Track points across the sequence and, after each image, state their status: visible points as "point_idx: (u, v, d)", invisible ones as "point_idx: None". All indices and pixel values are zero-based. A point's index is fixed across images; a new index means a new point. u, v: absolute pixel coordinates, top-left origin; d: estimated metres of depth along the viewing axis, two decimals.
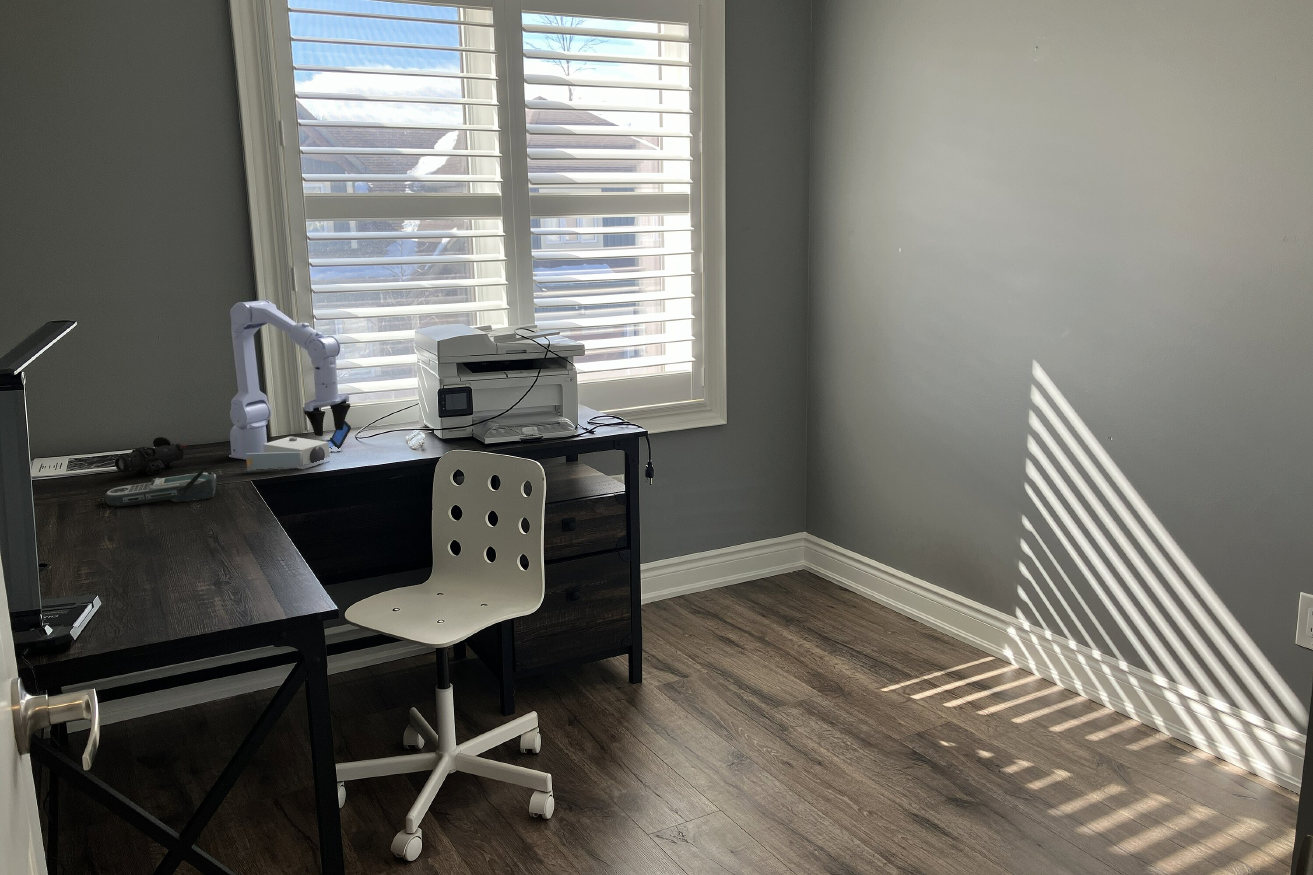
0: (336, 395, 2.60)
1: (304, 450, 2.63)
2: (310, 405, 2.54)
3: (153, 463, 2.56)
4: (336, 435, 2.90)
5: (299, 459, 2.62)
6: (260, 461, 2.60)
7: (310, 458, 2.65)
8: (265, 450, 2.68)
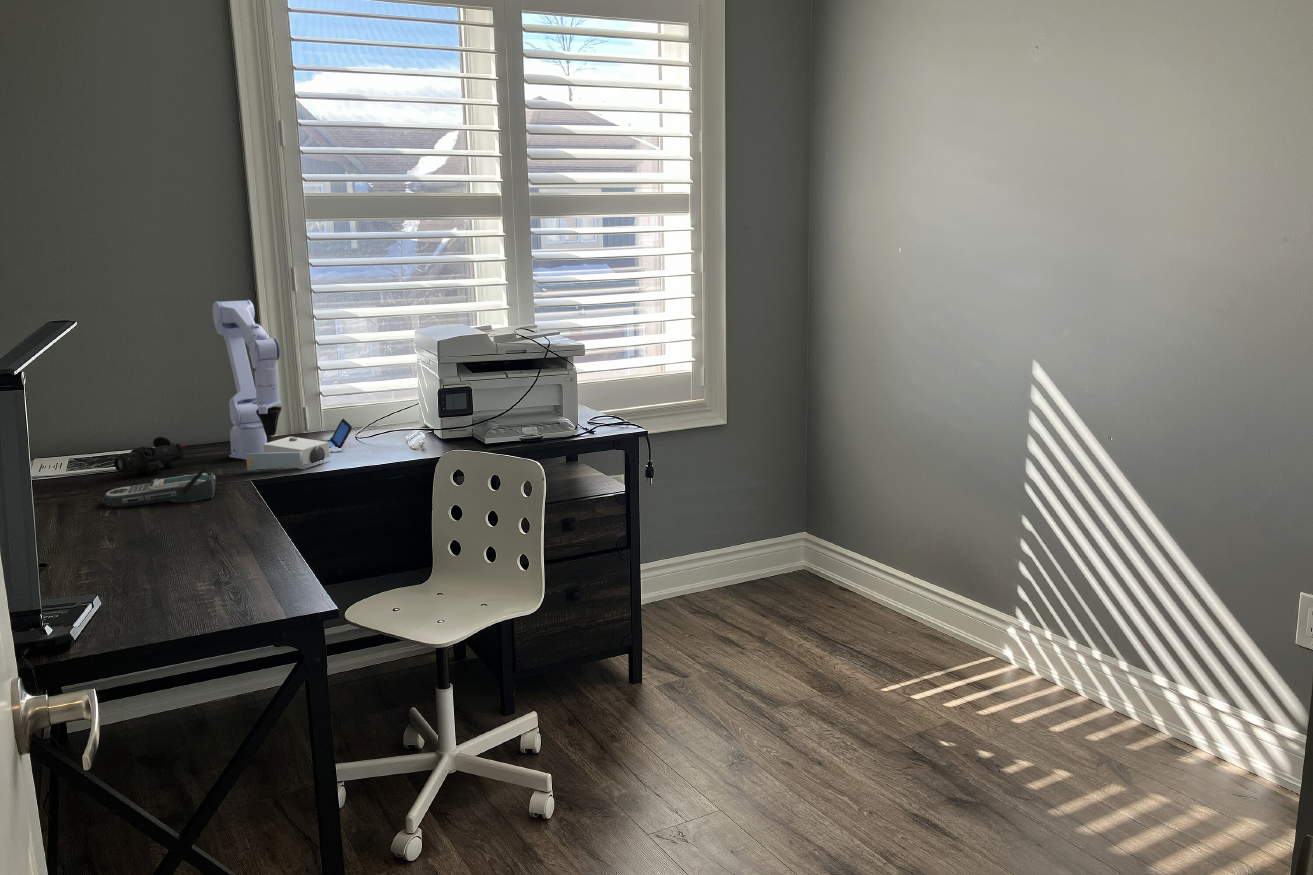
0: (256, 397, 2.59)
1: (304, 450, 2.63)
2: None
3: (152, 463, 2.56)
4: (337, 435, 2.90)
5: (299, 459, 2.62)
6: (260, 461, 2.60)
7: (310, 458, 2.65)
8: (265, 450, 2.68)
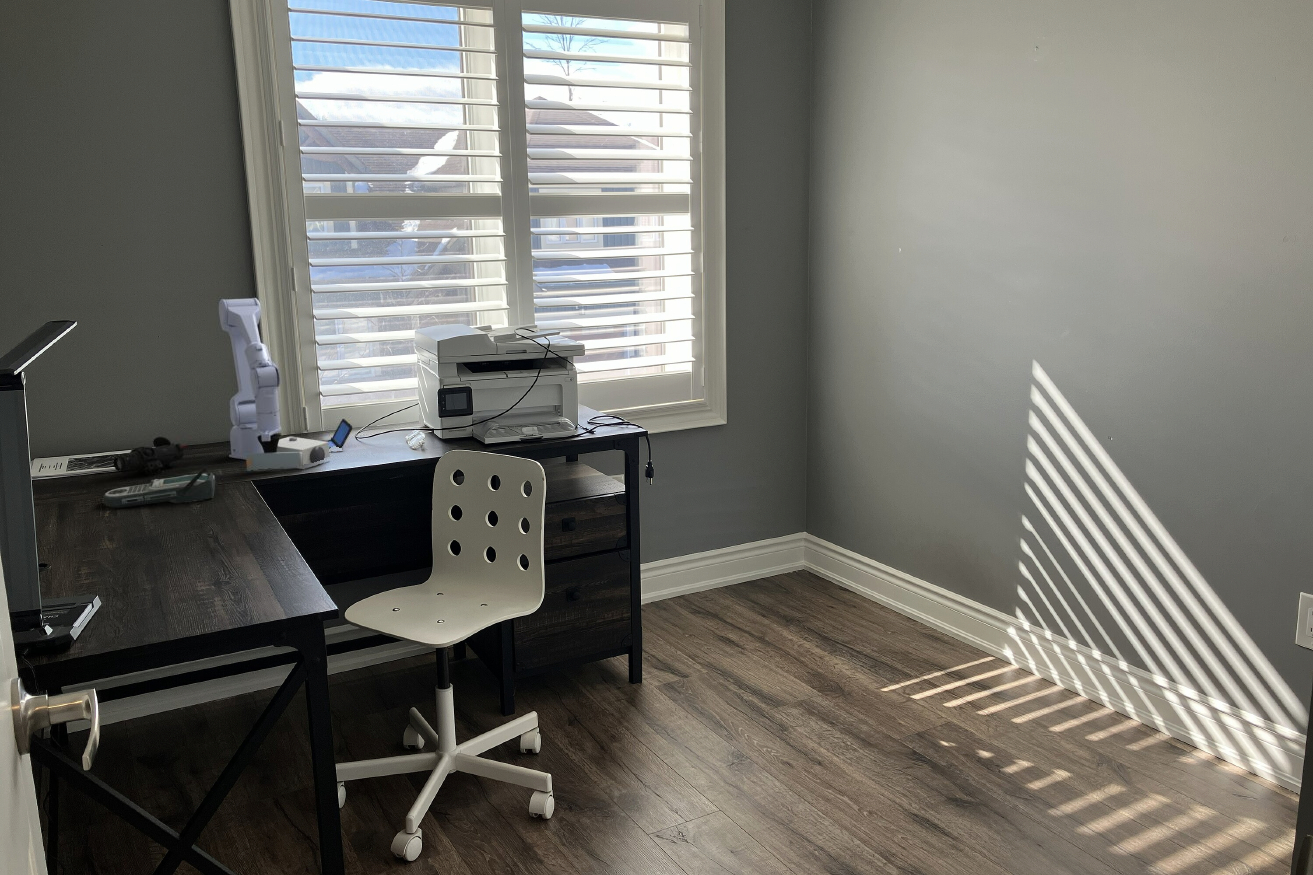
0: (257, 424, 2.59)
1: (304, 450, 2.63)
2: None
3: (152, 463, 2.56)
4: (337, 435, 2.90)
5: (299, 459, 2.62)
6: (260, 461, 2.60)
7: (310, 458, 2.65)
8: None
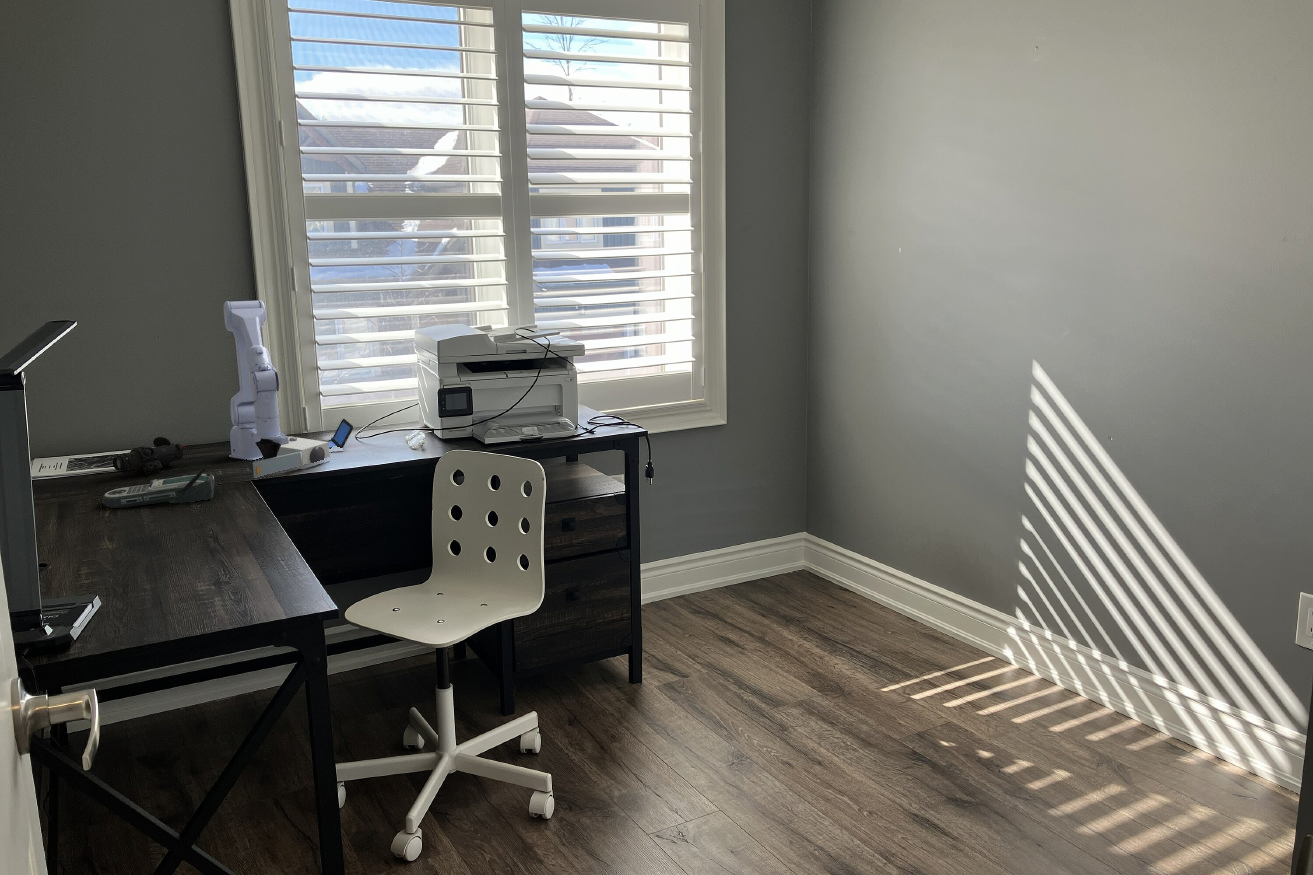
0: (259, 431, 2.52)
1: (304, 450, 2.63)
2: (249, 431, 2.58)
3: (151, 463, 2.56)
4: (337, 435, 2.90)
5: (301, 459, 2.62)
6: (267, 467, 2.54)
7: (310, 458, 2.65)
8: None
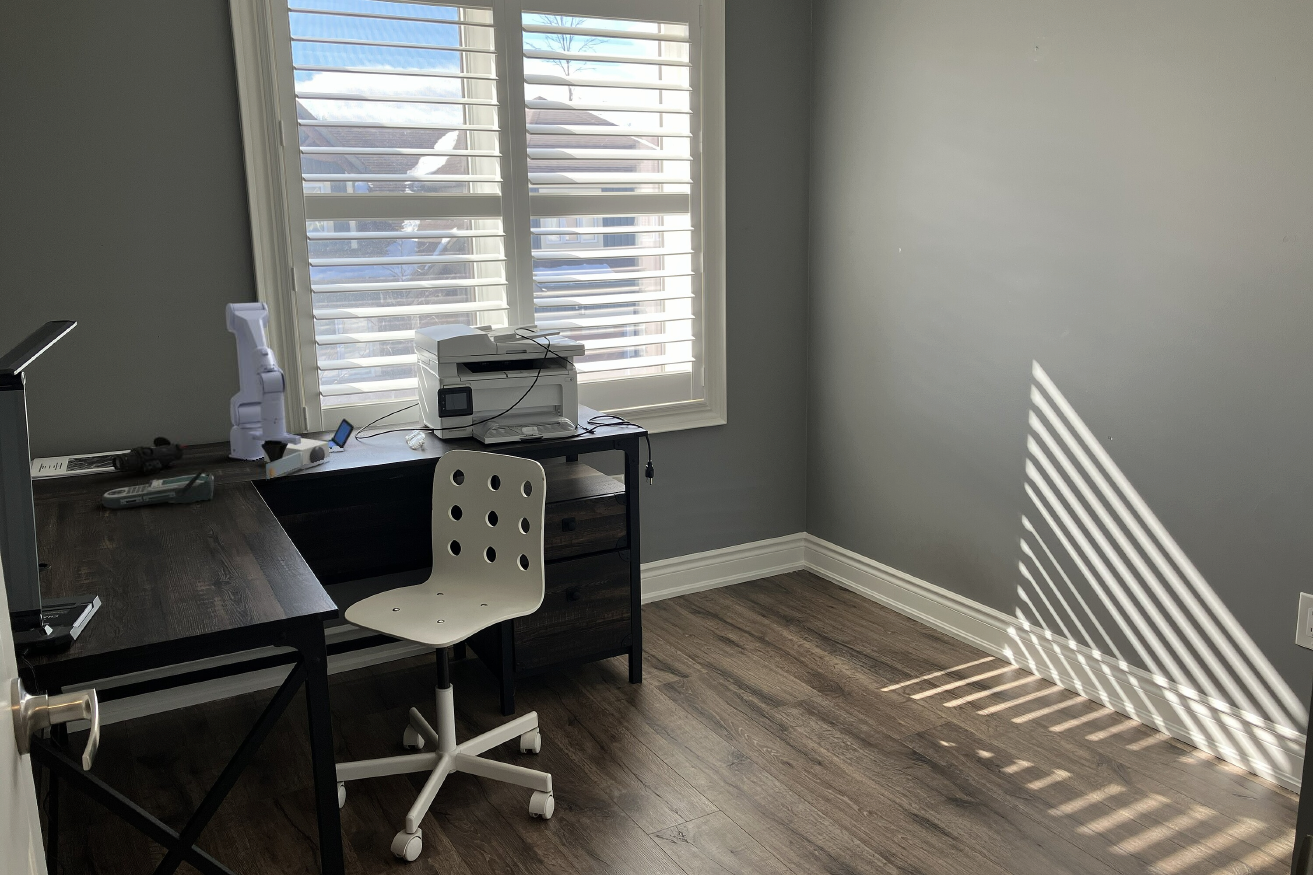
0: (269, 432, 2.50)
1: (304, 450, 2.63)
2: (248, 434, 2.54)
3: (150, 463, 2.56)
4: (338, 435, 2.90)
5: (301, 459, 2.62)
6: (277, 469, 2.53)
7: (310, 458, 2.65)
8: None
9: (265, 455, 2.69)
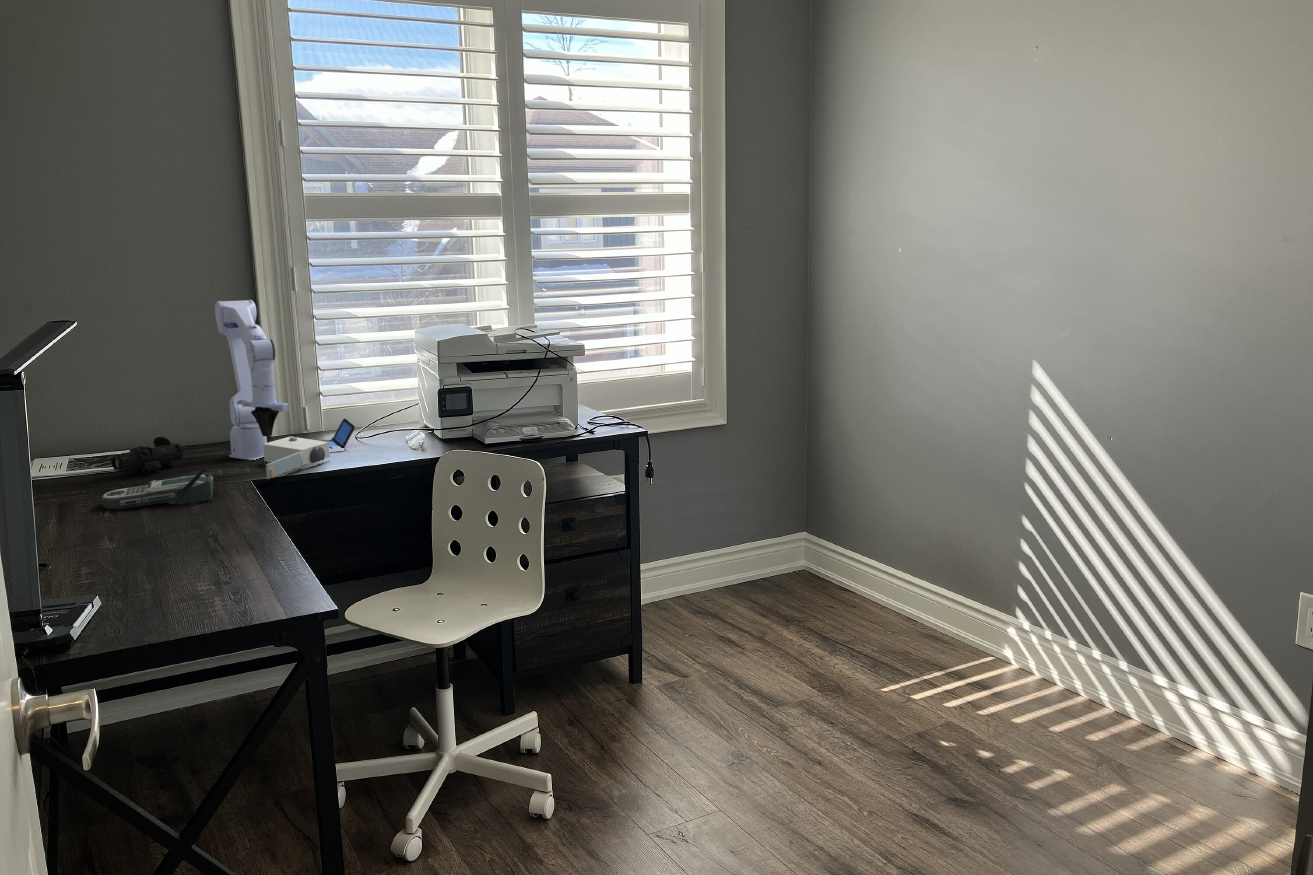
0: (258, 399, 2.56)
1: (304, 450, 2.63)
2: (242, 401, 2.61)
3: (149, 463, 2.56)
4: (339, 435, 2.91)
5: (301, 459, 2.62)
6: (277, 469, 2.53)
7: (310, 458, 2.65)
8: (265, 450, 2.68)
9: (265, 455, 2.69)
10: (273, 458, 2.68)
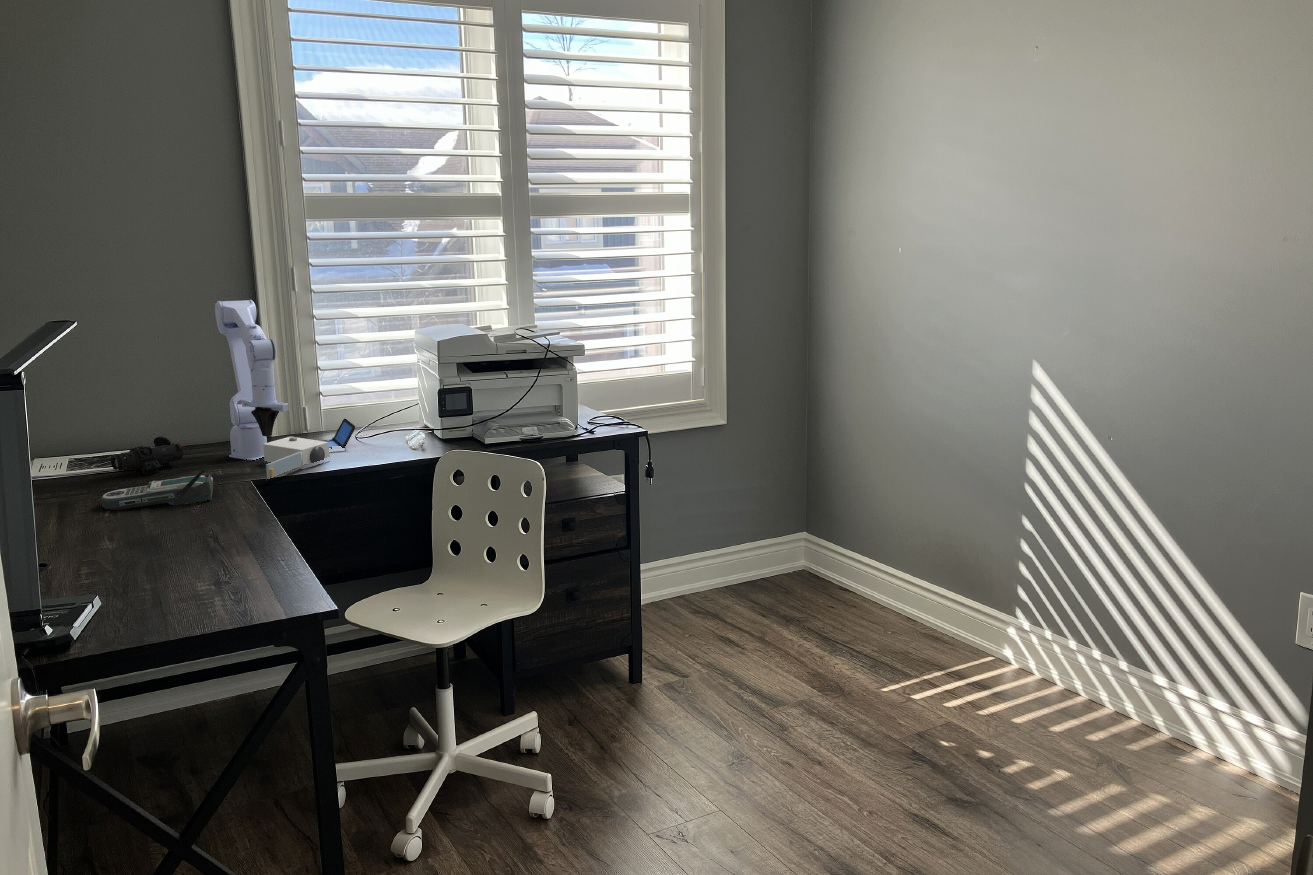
0: (258, 399, 2.56)
1: (304, 450, 2.63)
2: (242, 401, 2.61)
3: (149, 463, 2.56)
4: (339, 435, 2.91)
5: (301, 459, 2.62)
6: (277, 469, 2.53)
7: (310, 458, 2.65)
8: (265, 450, 2.68)
9: (265, 455, 2.69)
10: (273, 458, 2.68)
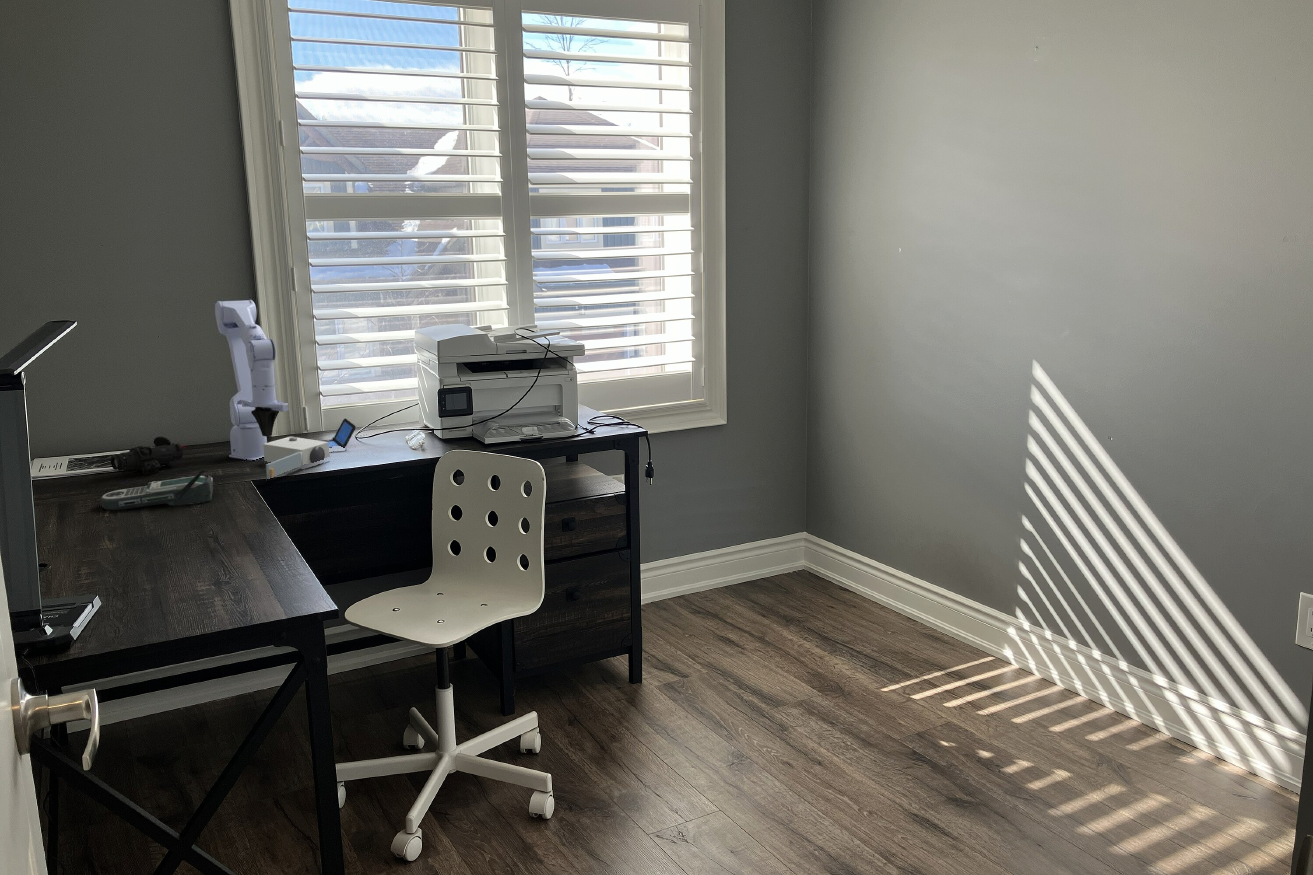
0: (258, 399, 2.56)
1: (304, 450, 2.63)
2: (242, 401, 2.61)
3: (149, 463, 2.56)
4: (339, 435, 2.91)
5: (301, 459, 2.62)
6: (277, 469, 2.53)
7: (310, 458, 2.65)
8: (265, 450, 2.68)
9: (265, 455, 2.69)
10: (273, 458, 2.68)
